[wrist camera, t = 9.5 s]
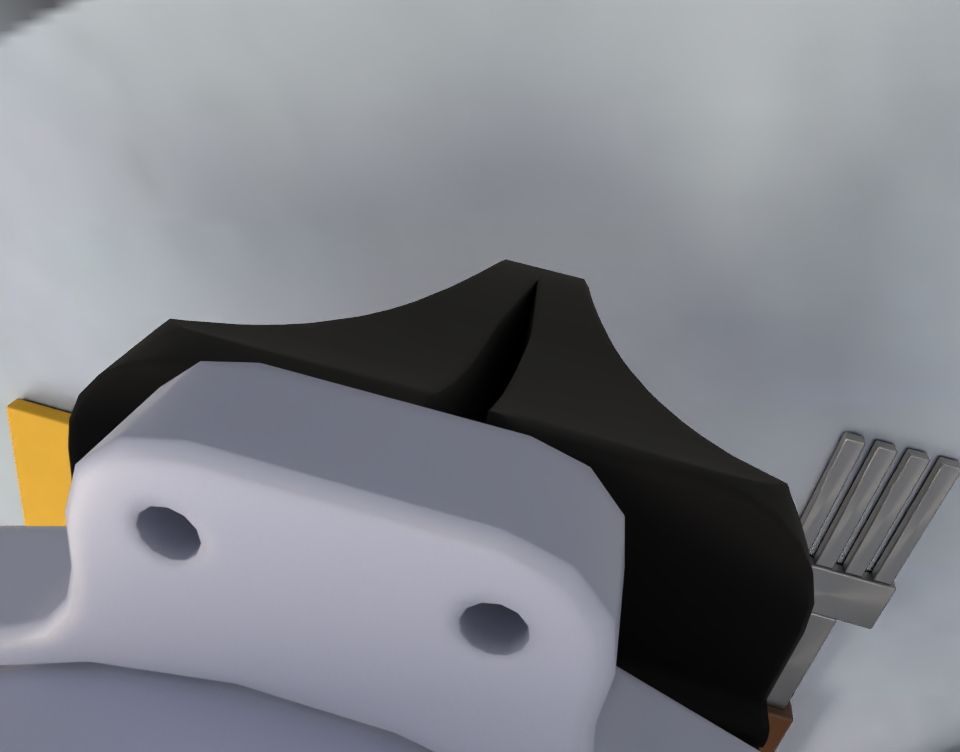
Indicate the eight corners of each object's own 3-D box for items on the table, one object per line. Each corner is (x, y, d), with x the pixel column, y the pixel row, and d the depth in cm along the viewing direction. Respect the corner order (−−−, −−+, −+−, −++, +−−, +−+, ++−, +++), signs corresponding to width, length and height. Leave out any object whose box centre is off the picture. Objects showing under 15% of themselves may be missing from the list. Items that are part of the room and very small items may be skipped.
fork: (692, 905, 23) (692, 923, 23) (613, 880, 24) (612, 898, 23) (964, 462, 15) (973, 479, 14) (838, 429, 15) (843, 444, 15)
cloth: (262, 737, 24) (256, 750, 23) (58, 672, 24) (48, 685, 24) (277, 470, 19) (269, 482, 18) (17, 397, 19) (4, 407, 19)
